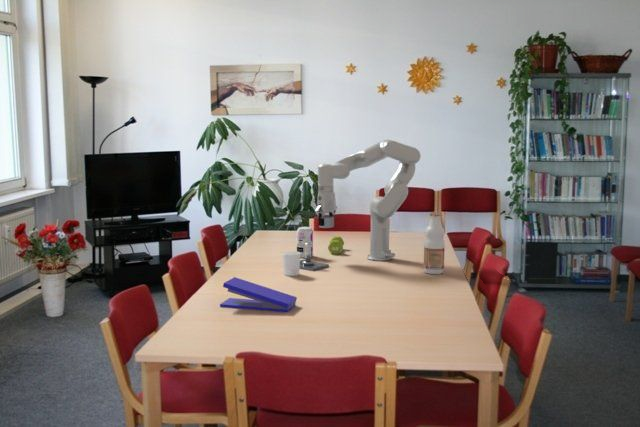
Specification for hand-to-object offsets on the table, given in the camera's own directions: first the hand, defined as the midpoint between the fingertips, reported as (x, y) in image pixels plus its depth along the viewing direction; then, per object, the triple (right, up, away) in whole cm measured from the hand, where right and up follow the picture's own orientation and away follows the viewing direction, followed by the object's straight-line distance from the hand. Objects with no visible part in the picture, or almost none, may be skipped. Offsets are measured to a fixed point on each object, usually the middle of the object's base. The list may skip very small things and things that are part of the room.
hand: (326, 224), depth 366 cm
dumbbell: (+5, -15, +26) cm, 30 cm away
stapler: (-27, -31, -82) cm, 91 cm away
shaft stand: (-9, -20, -11) cm, 25 cm away
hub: (0, -1, 0) cm, 1 cm away
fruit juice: (+50, -22, -22) cm, 59 cm away
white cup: (-16, -23, -28) cm, 40 cm away
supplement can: (-11, -17, +12) cm, 23 cm away
